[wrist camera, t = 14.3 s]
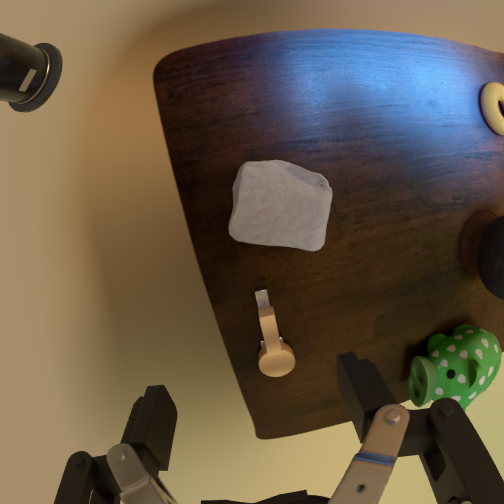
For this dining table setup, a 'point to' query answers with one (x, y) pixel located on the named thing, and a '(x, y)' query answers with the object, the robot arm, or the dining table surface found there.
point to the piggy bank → (455, 366)
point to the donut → (493, 106)
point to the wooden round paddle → (273, 347)
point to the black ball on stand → (484, 250)
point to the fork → (263, 306)
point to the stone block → (280, 205)
